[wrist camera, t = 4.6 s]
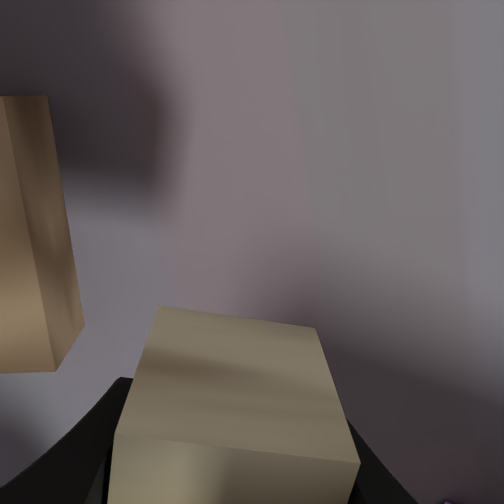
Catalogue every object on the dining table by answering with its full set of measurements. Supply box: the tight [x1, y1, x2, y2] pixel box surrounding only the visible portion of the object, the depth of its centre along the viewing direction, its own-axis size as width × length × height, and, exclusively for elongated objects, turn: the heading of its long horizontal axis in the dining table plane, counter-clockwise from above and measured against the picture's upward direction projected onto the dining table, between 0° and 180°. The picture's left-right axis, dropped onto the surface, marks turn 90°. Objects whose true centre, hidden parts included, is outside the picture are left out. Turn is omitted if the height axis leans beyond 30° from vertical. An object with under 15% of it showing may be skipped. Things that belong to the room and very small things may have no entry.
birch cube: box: [107, 305, 361, 504], centre depth 11 cm, size 4×4×5 cm
